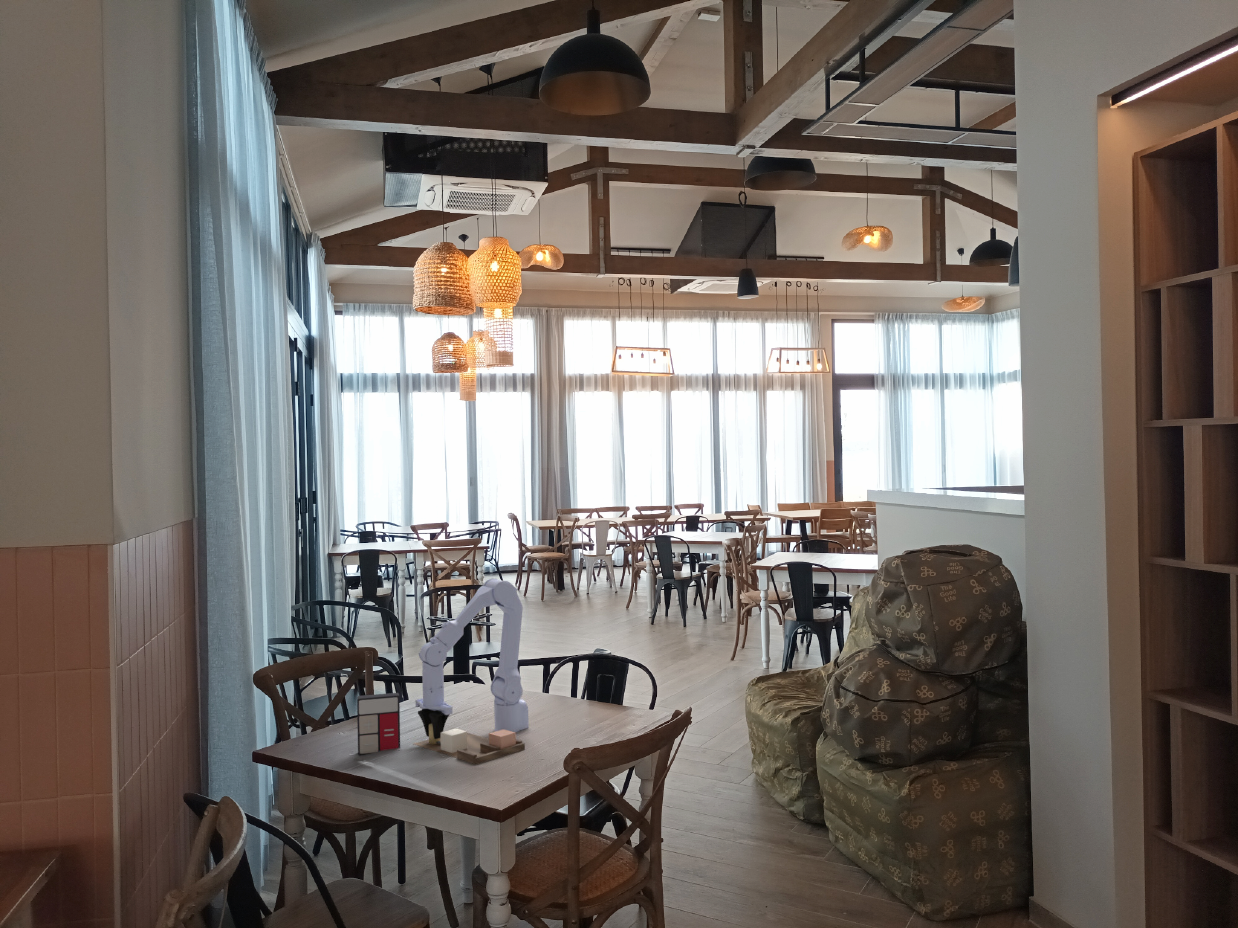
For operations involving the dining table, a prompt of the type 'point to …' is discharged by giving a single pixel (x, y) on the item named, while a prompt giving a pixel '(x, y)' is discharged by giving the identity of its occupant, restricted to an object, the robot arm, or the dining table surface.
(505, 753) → the shelf
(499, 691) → the robot arm
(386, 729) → the calculator
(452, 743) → the tethered block
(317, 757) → the dining table surface
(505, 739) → the untied block
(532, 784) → the dining table surface
